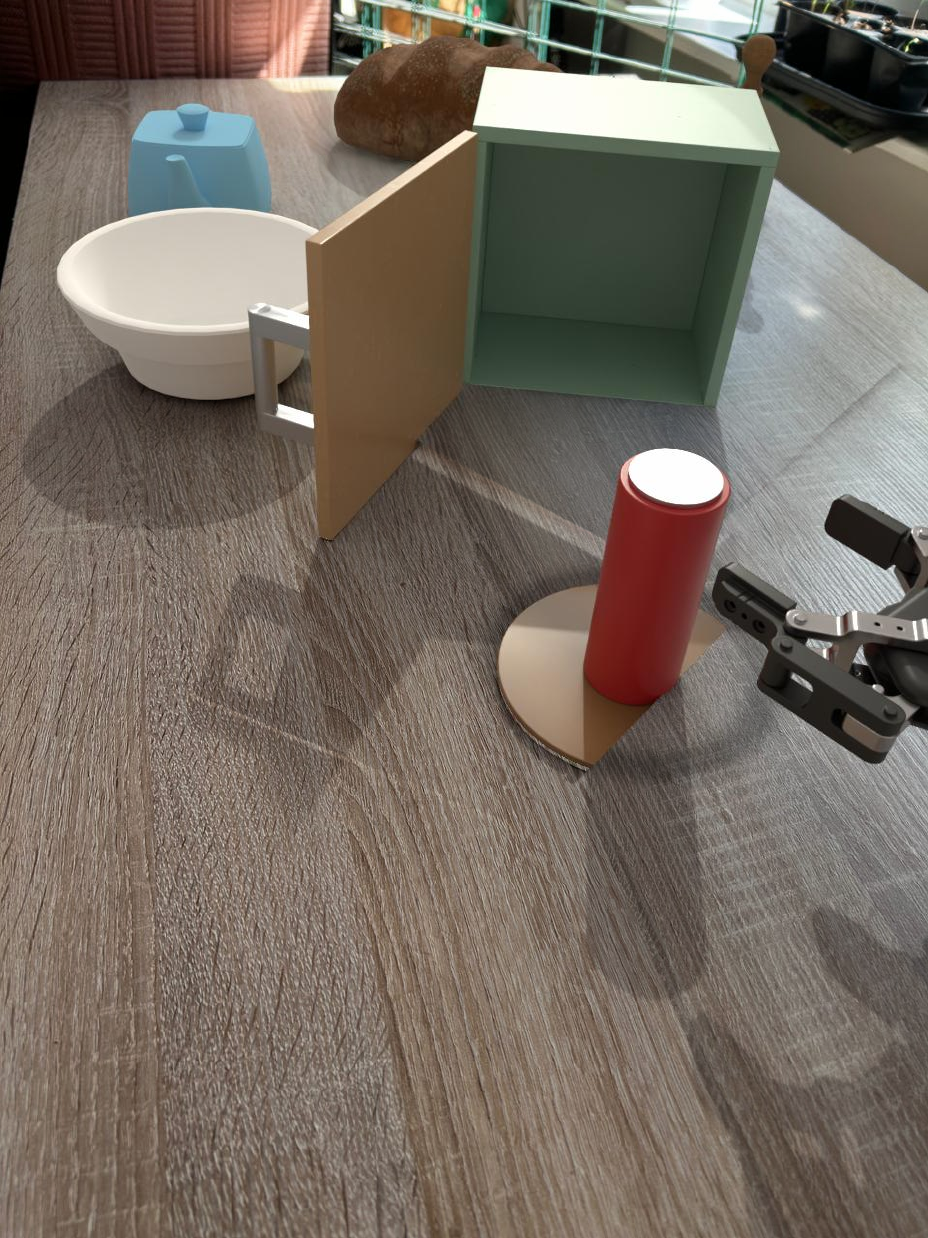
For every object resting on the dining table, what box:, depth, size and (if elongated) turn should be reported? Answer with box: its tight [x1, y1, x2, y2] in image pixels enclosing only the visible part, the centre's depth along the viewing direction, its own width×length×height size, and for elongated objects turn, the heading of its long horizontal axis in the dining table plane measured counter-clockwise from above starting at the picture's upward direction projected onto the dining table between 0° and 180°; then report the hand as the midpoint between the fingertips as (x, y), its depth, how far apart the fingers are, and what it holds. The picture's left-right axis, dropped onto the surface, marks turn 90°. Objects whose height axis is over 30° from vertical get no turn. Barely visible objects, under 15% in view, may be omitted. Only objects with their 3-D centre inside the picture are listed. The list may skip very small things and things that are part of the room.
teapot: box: [127, 103, 273, 218], centre depth 96 cm, size 12×18×12 cm
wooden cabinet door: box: [248, 130, 478, 541], centre depth 69 cm, size 6×20×20 cm, turn 155°
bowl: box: [56, 208, 320, 401], centre depth 81 cm, size 21×21×8 cm
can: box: [583, 448, 732, 706], centre depth 56 cm, size 5×5×14 cm
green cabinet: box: [462, 67, 781, 408], centre depth 81 cm, size 13×20×20 cm, turn 85°
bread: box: [333, 35, 565, 163], centre depth 118 cm, size 16×29×11 cm, turn 85°
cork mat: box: [496, 583, 728, 769], centre depth 61 cm, size 15×15×1 cm
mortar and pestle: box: [738, 33, 777, 100], centre depth 103 cm, size 7×6×18 cm
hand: (777, 543), depth 50 cm, fingers open, 8 cm apart
